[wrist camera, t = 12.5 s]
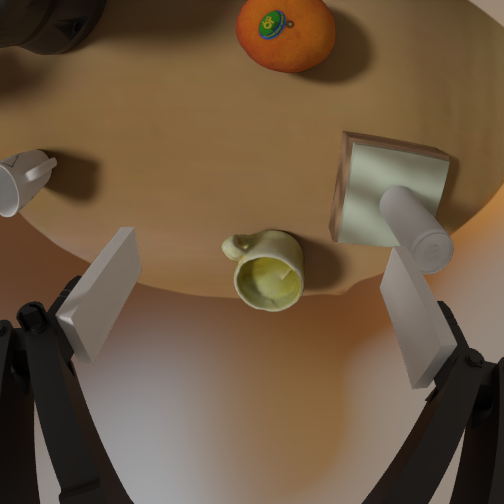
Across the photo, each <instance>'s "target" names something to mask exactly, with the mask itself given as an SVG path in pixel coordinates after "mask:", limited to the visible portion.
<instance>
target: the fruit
mask: <svg viewBox="0 0 504 504" xmlns="http://www.w3.org/2000/svg"><path fill="white" fill-rule="evenodd" d="M236 34H237V37H238V41H239V43H240V45H241V46H242V47H243V49H244V50H245V51H246V52H247V54H248V55H249V57H250V58H252V59H253V60H254V61H255V62H256V63H258V64H259V65H261V66H263V67H265V68H267V69H270V70H274V71H279V72H285V73H295V72H301V71H305V70H307V69H309V68H311V67H313V66H315V65H317V64H319V63H320V62H322V61H324V60H325V59H326V58H327V57H328V55H329V54H330V52H331V51H332V48H333V47H334V43H335V37H336V28H335V22H334V18H333V15H332V14H331V12H330V10H329V9H328V7H327V6H326V5H325V3H324V2H323V1H322V0H248V1H247V2H246V3H245V4H244V5H243V7H242V9H241V11H240V13H239V15H238V18H237V21H236Z"/></svg>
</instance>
